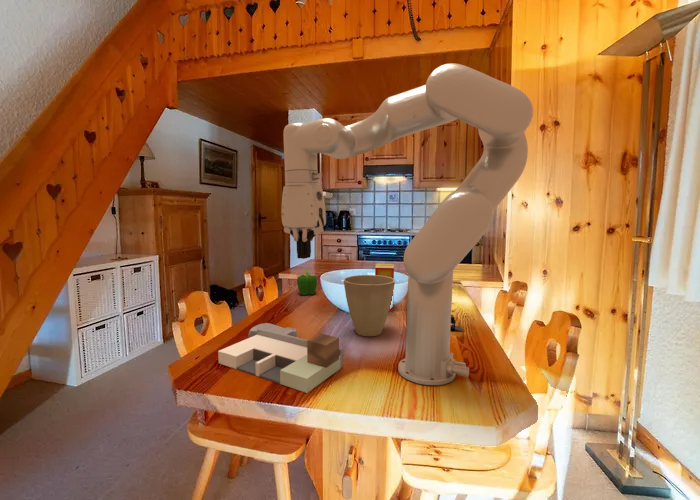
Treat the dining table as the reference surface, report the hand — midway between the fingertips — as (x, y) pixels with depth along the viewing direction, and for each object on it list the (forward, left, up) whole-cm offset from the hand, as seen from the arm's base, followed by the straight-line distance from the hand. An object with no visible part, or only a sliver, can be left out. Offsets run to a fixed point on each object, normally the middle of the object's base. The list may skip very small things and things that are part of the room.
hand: (304, 257), depth 84 cm
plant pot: (-6, -23, -25) cm, 35 cm away
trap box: (+2, +7, -25) cm, 26 cm away
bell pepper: (+37, -50, -25) cm, 68 cm away
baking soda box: (+1, -49, -25) cm, 55 cm away
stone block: (+14, -5, -25) cm, 29 cm away
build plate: (-25, -39, -25) cm, 53 cm away
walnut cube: (-9, +5, -22) cm, 24 cm away
